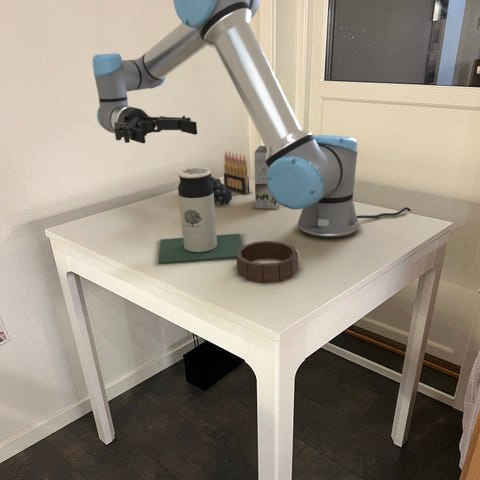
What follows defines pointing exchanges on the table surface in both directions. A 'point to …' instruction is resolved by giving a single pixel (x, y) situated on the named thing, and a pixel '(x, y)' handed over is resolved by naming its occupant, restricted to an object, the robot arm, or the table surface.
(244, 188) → the ammunition clip
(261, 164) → the coffee box
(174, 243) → the mat
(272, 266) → the holder
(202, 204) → the travel mug
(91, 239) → the table surface
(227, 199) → the fruit
